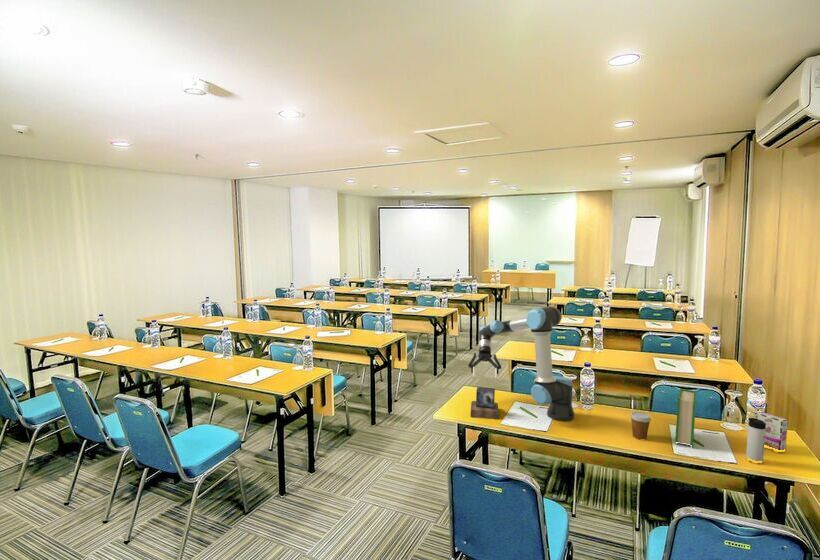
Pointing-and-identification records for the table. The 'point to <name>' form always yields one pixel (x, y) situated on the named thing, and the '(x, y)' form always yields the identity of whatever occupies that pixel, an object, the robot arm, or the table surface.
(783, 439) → the candy bar box
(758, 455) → the travel mug
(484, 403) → the small box
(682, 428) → the hardback book
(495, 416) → the walnut stand
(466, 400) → the table surface
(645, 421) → the disposable coffee cup
